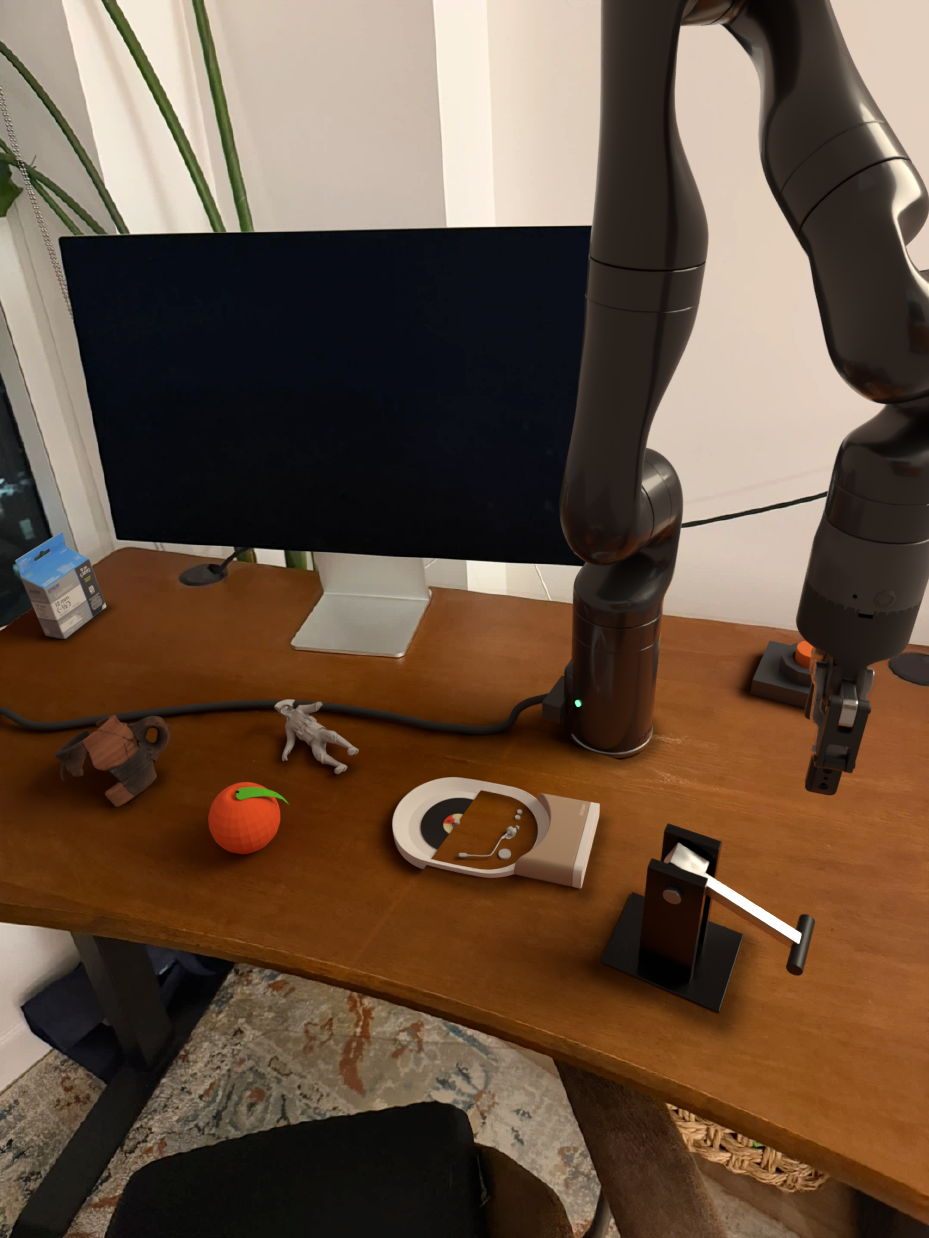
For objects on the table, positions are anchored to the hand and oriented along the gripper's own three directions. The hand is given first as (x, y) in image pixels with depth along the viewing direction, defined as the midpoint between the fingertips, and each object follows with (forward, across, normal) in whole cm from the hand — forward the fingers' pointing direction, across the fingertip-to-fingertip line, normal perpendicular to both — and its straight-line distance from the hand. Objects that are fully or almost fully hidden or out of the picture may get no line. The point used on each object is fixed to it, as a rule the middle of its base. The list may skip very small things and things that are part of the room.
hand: (818, 752), depth 67 cm
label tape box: (+20, -23, -97) cm, 101 cm away
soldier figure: (+19, -7, -50) cm, 54 cm away
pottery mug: (+19, +2, -70) cm, 72 cm away
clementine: (+19, +7, -50) cm, 54 cm away
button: (+14, -33, +2) cm, 36 cm away
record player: (+18, 0, -27) cm, 33 cm away
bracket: (+18, +9, -9) cm, 22 cm away
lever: (+9, +10, -5) cm, 14 cm away
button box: (+18, -33, +2) cm, 37 cm away
